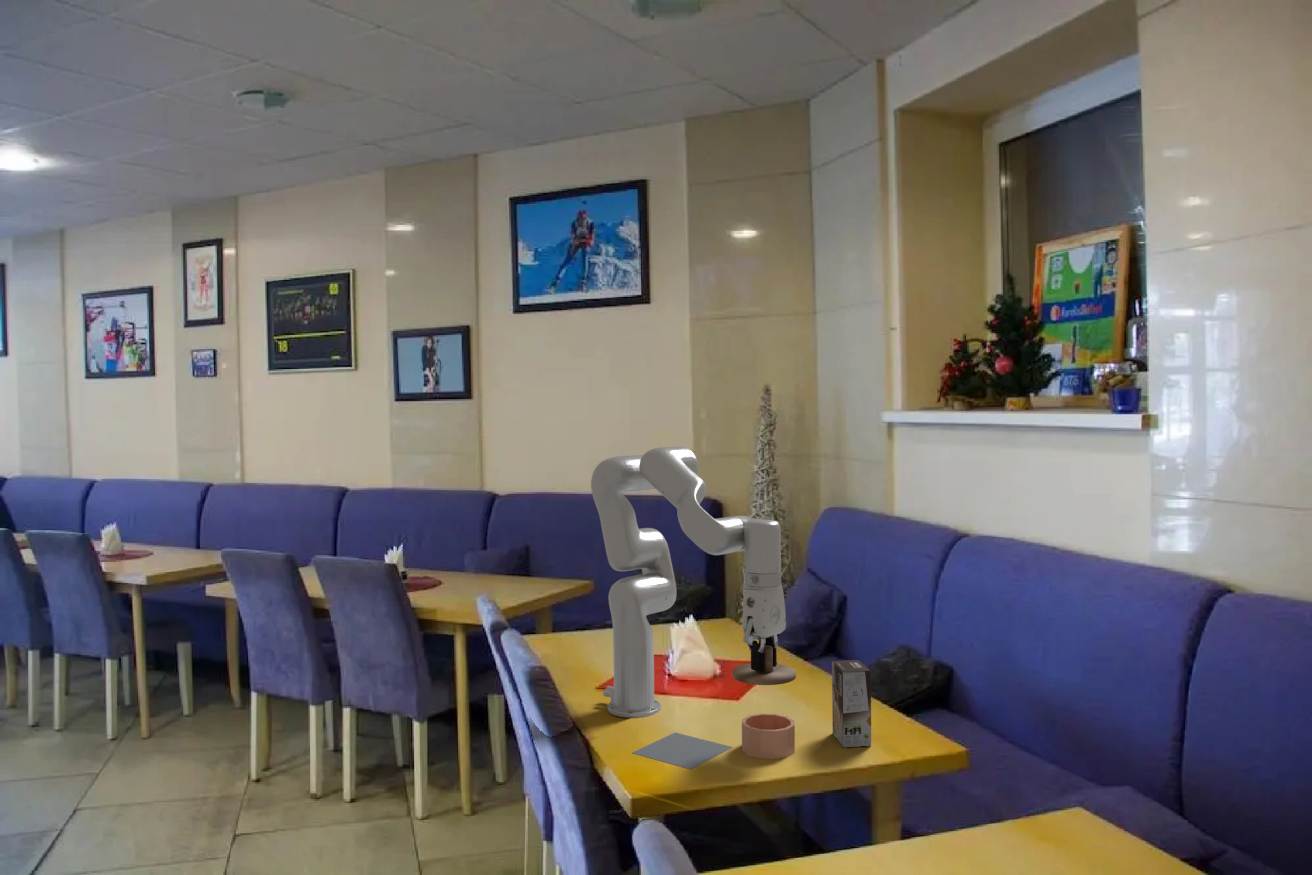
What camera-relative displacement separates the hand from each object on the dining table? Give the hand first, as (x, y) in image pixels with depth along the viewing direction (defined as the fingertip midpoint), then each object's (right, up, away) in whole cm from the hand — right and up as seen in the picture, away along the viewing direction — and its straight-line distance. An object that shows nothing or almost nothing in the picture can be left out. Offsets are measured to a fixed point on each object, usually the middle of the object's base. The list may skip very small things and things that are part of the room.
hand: (763, 667), depth 195 cm
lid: (0, -2, 0) cm, 2 cm away
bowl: (+1, -18, +1) cm, 18 cm away
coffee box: (+19, -17, +7) cm, 27 cm away
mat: (-17, -18, +1) cm, 24 cm away
